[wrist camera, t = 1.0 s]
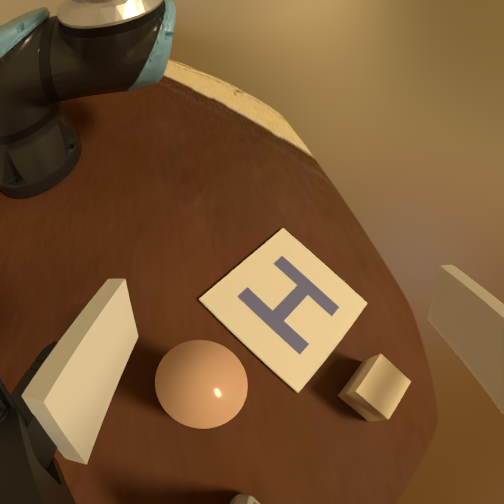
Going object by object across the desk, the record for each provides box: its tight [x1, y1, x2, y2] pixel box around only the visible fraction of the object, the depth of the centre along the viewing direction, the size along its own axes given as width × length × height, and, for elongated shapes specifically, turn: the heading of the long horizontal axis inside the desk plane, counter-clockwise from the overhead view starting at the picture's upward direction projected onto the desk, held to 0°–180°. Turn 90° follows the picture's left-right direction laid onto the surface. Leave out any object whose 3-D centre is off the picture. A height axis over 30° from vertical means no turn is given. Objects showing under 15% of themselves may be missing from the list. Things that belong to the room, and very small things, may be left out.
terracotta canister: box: [155, 340, 248, 429], centre depth 22 cm, size 6×6×10 cm
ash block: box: [338, 354, 411, 422], centre depth 28 cm, size 5×5×4 cm
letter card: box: [199, 228, 367, 393], centre depth 33 cm, size 14×14×1 cm
